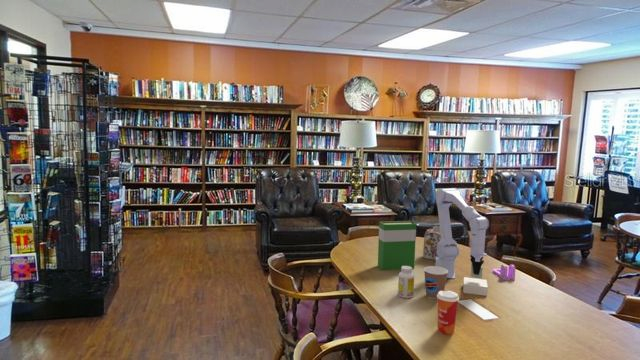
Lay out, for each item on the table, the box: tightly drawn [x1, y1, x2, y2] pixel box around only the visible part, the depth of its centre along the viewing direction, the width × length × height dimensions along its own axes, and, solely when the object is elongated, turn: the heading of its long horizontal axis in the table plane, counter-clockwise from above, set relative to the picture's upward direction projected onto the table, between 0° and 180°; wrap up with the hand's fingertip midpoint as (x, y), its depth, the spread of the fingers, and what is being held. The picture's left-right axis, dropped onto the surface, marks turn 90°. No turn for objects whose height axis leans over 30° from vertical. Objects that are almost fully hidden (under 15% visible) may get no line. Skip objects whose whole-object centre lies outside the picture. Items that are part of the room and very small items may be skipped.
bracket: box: [492, 264, 516, 280], centre depth 212 cm, size 13×6×7 cm, turn 6°
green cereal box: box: [377, 220, 417, 271], centre depth 221 cm, size 18×7×24 cm, turn 102°
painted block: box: [462, 276, 489, 297], centre depth 191 cm, size 10×10×4 cm
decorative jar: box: [422, 225, 449, 261], centre depth 239 cm, size 12×12×18 cm
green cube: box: [470, 264, 484, 279], centre depth 190 cm, size 4×4×5 cm
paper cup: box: [437, 290, 460, 336], centre depth 150 cm, size 8×8×14 cm
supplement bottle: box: [397, 266, 415, 299], centre depth 182 cm, size 7×7×13 cm
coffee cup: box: [423, 265, 448, 300], centre depth 182 cm, size 10×10×12 cm
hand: (476, 272), depth 190 cm, fingers closed on green cube, 4 cm apart
